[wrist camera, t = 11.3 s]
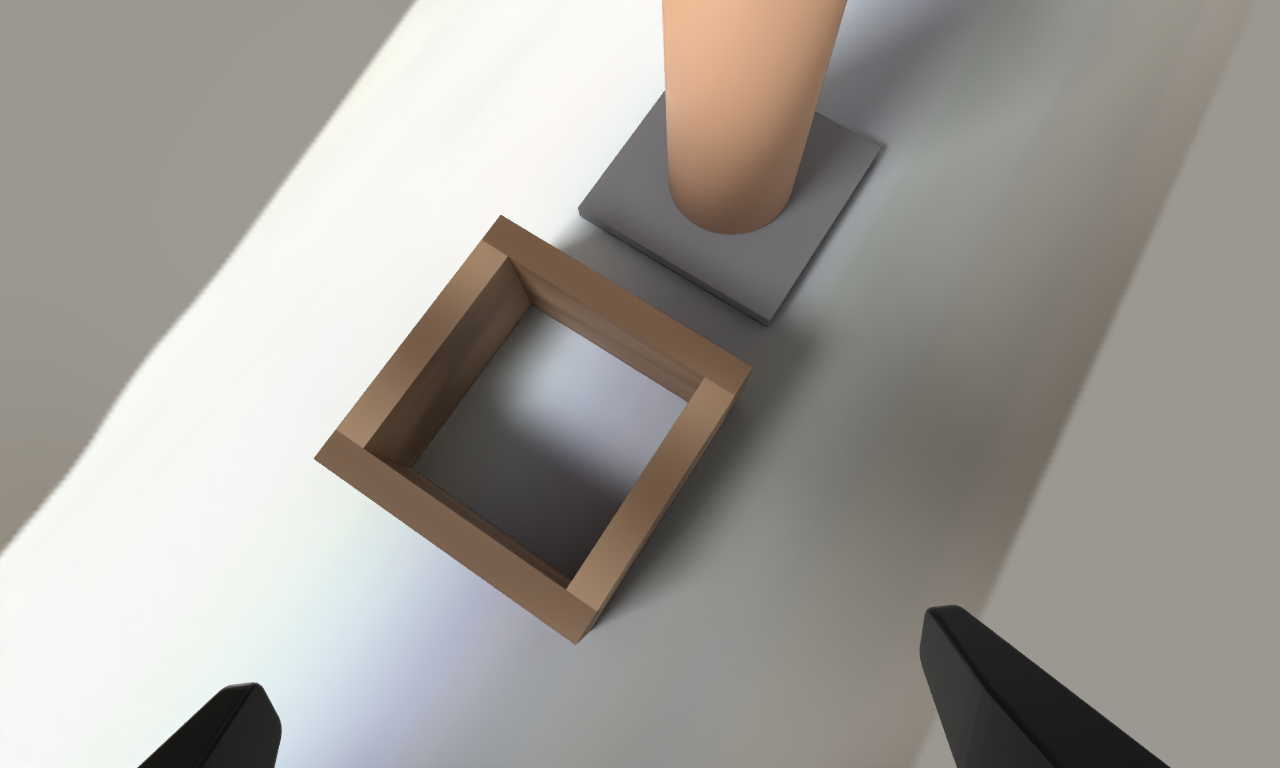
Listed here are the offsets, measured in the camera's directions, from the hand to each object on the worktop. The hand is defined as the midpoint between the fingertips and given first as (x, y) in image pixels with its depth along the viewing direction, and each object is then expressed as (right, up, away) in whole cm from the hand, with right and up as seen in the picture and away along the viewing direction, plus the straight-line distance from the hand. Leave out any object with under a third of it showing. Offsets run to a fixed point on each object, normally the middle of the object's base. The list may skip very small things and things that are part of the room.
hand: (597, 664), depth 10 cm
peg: (+4, +11, +16) cm, 20 cm away
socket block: (-2, +2, +14) cm, 15 cm away
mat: (+4, +11, +17) cm, 20 cm away
